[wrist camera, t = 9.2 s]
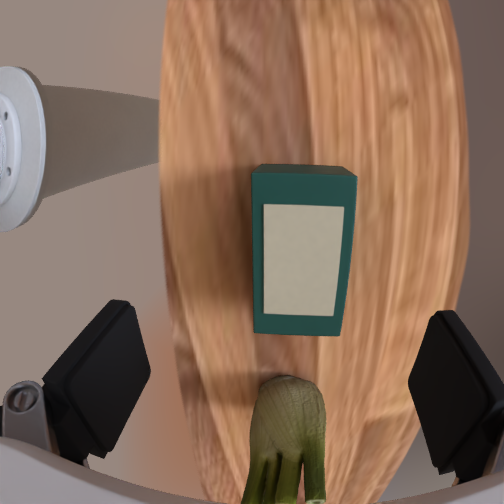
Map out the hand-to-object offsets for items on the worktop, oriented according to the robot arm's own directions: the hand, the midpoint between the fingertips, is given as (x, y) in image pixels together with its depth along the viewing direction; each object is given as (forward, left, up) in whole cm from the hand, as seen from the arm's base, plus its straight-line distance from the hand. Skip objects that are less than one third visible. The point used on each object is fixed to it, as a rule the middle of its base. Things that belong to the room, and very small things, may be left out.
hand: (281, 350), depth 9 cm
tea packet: (+1, 0, -12) cm, 12 cm away
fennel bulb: (+8, -12, -12) cm, 18 cm away
